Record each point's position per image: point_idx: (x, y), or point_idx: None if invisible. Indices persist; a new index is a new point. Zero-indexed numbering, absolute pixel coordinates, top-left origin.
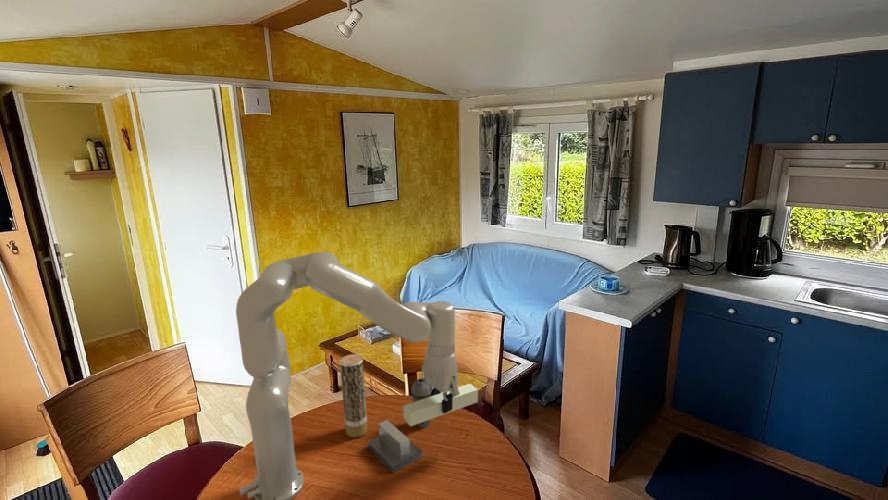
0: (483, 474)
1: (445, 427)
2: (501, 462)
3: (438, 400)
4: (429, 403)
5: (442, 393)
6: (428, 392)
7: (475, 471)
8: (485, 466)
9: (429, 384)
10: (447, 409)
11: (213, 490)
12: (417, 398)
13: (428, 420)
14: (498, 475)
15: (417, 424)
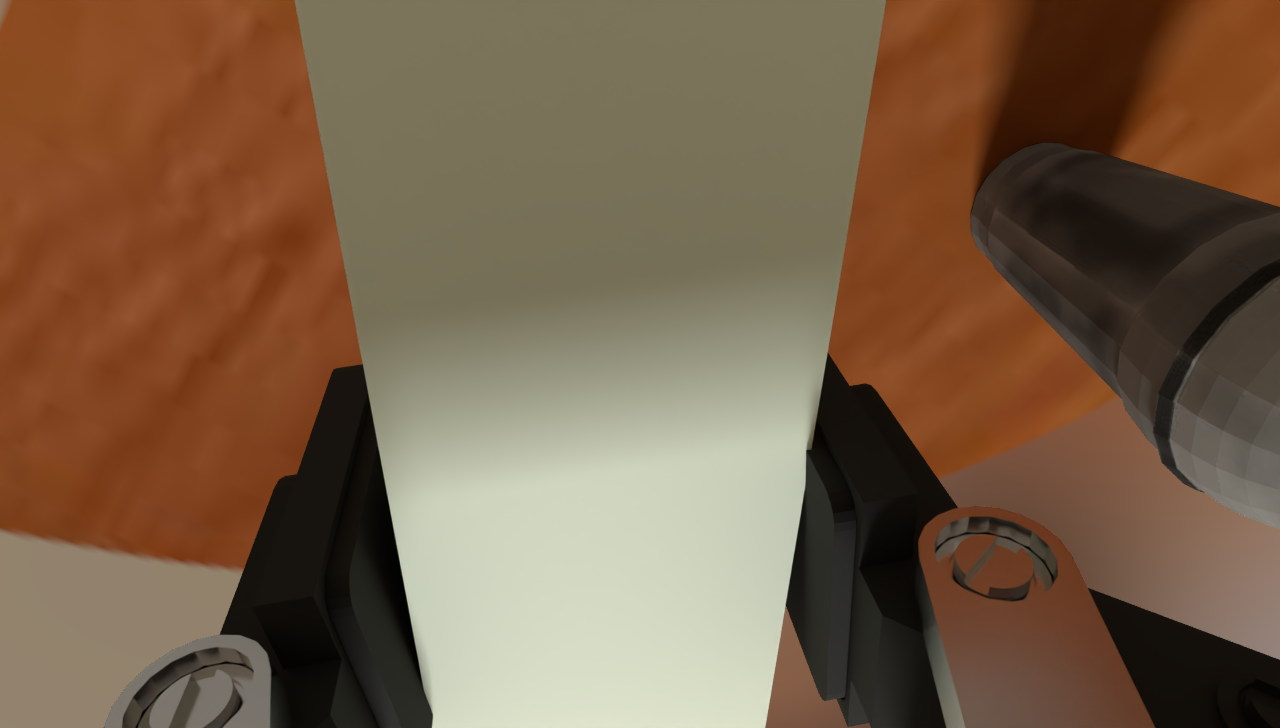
0: (171, 307)
1: (852, 333)
2: (252, 478)
3: (515, 489)
4: (501, 199)
5: (745, 661)
6: (1205, 425)
7: (232, 271)
8: (258, 365)
9: (1183, 645)
10: (276, 492)
11: None
12: (1261, 254)
13: (995, 246)
14: (116, 395)
15: (1054, 146)
